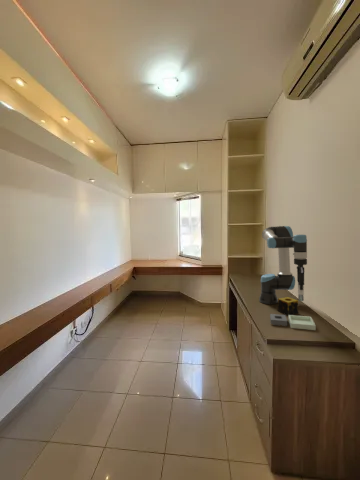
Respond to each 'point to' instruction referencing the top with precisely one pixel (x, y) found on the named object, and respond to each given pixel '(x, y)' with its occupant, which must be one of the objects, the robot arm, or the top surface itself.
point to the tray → (301, 322)
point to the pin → (300, 297)
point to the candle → (288, 306)
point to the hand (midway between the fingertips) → (300, 293)
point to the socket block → (278, 319)
